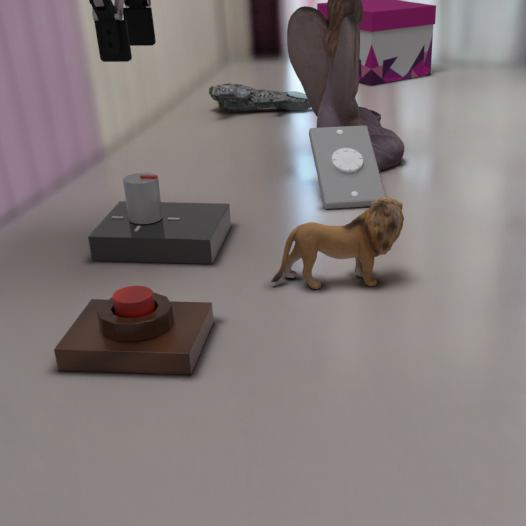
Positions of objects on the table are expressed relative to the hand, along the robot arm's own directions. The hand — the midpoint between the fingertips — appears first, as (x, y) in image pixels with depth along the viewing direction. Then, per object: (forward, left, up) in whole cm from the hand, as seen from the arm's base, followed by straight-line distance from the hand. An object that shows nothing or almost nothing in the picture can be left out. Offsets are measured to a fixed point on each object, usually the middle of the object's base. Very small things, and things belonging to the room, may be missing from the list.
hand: (129, 52), depth 88 cm
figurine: (+23, +34, -22) cm, 47 cm away
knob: (0, -2, -19) cm, 19 cm away
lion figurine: (+24, -11, -22) cm, 34 cm away
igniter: (+6, -27, -22) cm, 35 cm away
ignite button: (+6, -27, -18) cm, 33 cm away
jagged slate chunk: (+4, +65, -22) cm, 69 cm away
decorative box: (+25, +103, -22) cm, 109 cm away
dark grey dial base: (+2, -2, -22) cm, 22 cm away
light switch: (+23, +18, -22) cm, 37 cm away
